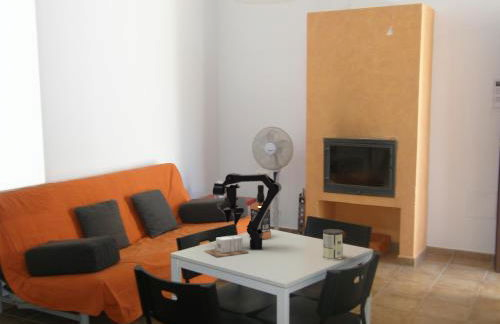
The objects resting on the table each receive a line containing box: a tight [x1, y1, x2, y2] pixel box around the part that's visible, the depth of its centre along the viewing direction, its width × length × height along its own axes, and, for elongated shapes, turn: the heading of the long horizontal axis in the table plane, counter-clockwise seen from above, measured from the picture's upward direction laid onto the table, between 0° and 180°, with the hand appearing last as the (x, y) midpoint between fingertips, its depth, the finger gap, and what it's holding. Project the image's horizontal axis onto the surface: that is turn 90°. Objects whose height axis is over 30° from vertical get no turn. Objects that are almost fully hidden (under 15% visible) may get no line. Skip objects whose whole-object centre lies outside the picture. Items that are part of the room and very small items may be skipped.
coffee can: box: [322, 228, 344, 261], centre depth 280 cm, size 10×10×14 cm
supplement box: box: [215, 235, 244, 253], centre depth 291 cm, size 7×7×13 cm
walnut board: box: [204, 248, 249, 259], centre depth 290 cm, size 19×15×1 cm
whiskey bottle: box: [248, 184, 272, 241], centre depth 326 cm, size 10×10×32 cm
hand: (231, 223), depth 303 cm, fingers open, 9 cm apart
